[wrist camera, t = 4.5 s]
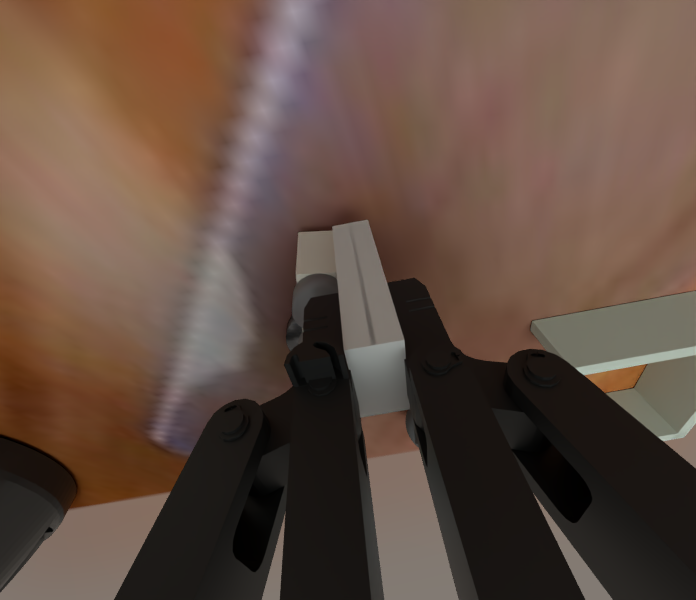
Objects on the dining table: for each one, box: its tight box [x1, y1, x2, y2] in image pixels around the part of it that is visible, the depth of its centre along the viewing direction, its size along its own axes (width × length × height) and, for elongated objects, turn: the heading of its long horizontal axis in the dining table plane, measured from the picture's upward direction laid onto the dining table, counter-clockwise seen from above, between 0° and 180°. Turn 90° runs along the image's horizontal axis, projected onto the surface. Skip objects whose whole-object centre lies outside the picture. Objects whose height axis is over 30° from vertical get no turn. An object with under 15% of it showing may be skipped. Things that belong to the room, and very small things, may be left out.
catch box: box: [530, 291, 696, 441], centre depth 23 cm, size 11×11×4 cm
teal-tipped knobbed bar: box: [292, 231, 338, 345], centre depth 18 cm, size 3×17×5 cm, turn 1°
